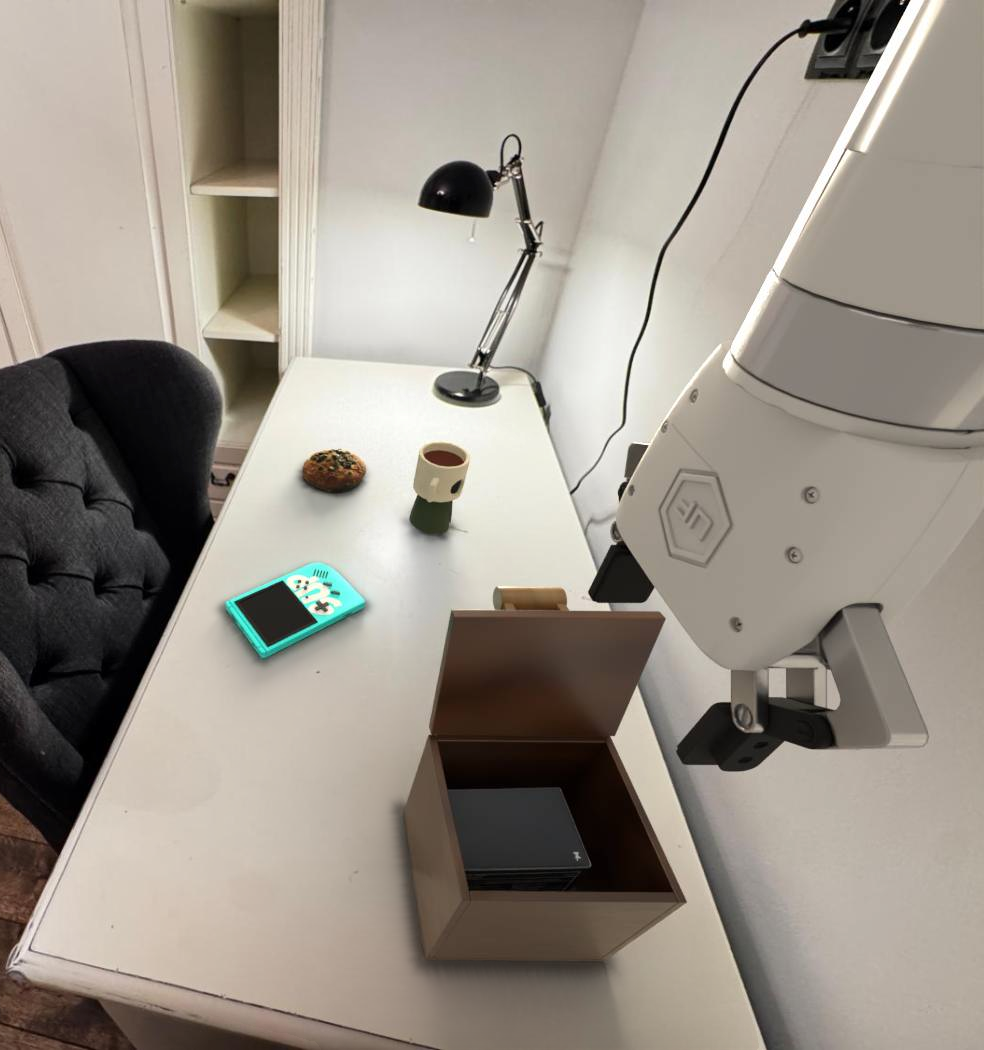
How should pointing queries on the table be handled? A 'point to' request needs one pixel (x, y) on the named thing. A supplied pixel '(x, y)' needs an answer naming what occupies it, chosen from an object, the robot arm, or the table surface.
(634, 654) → the lid
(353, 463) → the bread roll
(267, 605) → the handheld game console
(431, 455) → the character mug
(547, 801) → the small box
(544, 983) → the table surface
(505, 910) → the brown wooden box
